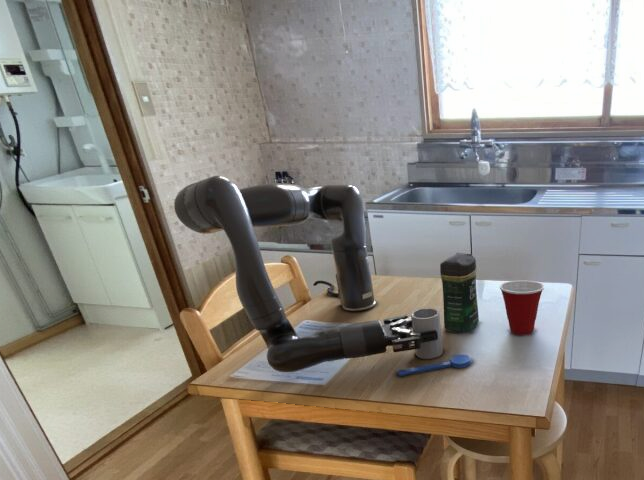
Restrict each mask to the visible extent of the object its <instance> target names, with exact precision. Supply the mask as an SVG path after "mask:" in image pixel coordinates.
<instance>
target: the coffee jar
mask: <svg viewBox="0 0 644 480" xmlns="http://www.w3.org/2000/svg"><path fill="white" fill-rule="evenodd" d="M439 271H440V278H441V285H442V299H443V300H442V301H443V302H442V303H443V327H444V329H445V330H446V331H448V332H451V333H453V334H462V333H469V332H471V331H472V330H474V329H475V328H476V327H477V325H478V324H479V322H480V317H479V307H478V293H477V260H476V257H475V256H474V255H473V254H472V253H465V252H456V253H455V254H453V255H451V256H449V257H447V258H446V259H445V260H443V261H441V263H440V266H439Z"/></svg>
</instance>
